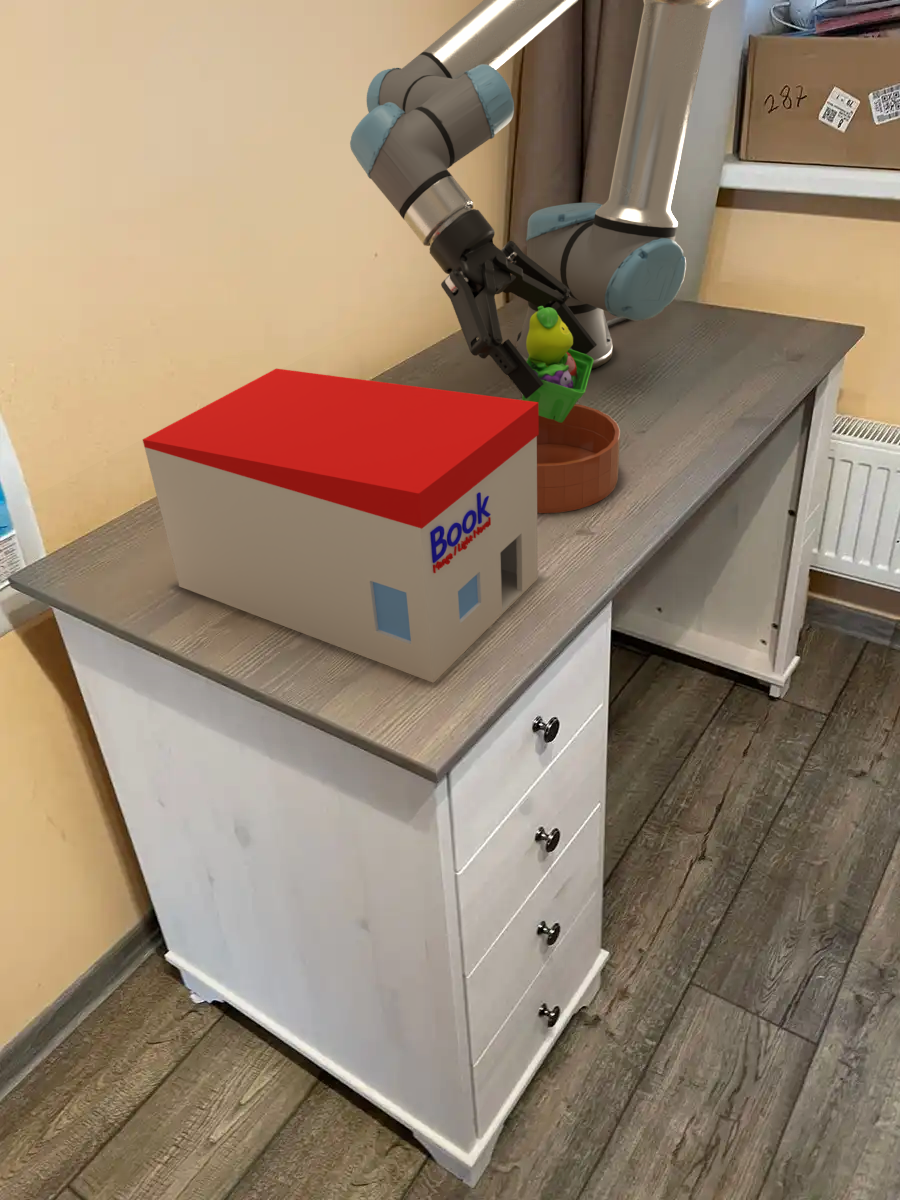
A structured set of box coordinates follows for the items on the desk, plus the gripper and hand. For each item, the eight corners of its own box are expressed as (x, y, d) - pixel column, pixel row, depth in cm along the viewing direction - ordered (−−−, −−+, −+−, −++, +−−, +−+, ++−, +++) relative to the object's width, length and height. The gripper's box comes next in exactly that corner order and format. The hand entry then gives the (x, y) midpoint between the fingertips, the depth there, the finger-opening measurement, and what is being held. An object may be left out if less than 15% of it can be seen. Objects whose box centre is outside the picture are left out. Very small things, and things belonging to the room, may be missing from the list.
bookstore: (436, 684, 98) (421, 494, 86) (179, 586, 115) (136, 415, 103) (541, 579, 112) (540, 402, 100) (298, 505, 129) (272, 346, 117)
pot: (560, 434, 141) (560, 390, 138) (647, 484, 128) (650, 437, 125) (449, 471, 134) (446, 426, 130) (529, 528, 121) (528, 480, 117)
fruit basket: (570, 431, 120) (604, 344, 113) (499, 407, 120) (528, 318, 113) (581, 393, 129) (612, 310, 122) (514, 370, 129) (542, 286, 122)
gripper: (487, 222, 131) (589, 353, 133) (372, 278, 115) (490, 427, 116) (523, 182, 126) (629, 319, 127) (407, 234, 109) (530, 392, 111)
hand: (563, 371), depth 122 cm, fingers closed on fruit basket, 13 cm apart
